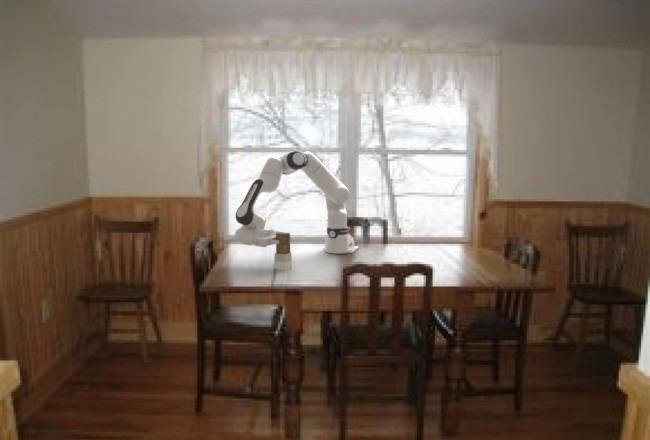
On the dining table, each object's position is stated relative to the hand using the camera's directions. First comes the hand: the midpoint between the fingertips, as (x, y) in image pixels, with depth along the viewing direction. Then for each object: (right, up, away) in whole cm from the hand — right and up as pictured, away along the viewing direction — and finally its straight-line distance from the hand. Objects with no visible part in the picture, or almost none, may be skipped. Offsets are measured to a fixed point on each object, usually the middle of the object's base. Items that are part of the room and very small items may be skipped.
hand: (284, 240), depth 273 cm
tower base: (-1, -14, +3) cm, 14 cm away
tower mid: (-1, -10, +2) cm, 10 cm away
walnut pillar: (-1, -6, +1) cm, 6 cm away
